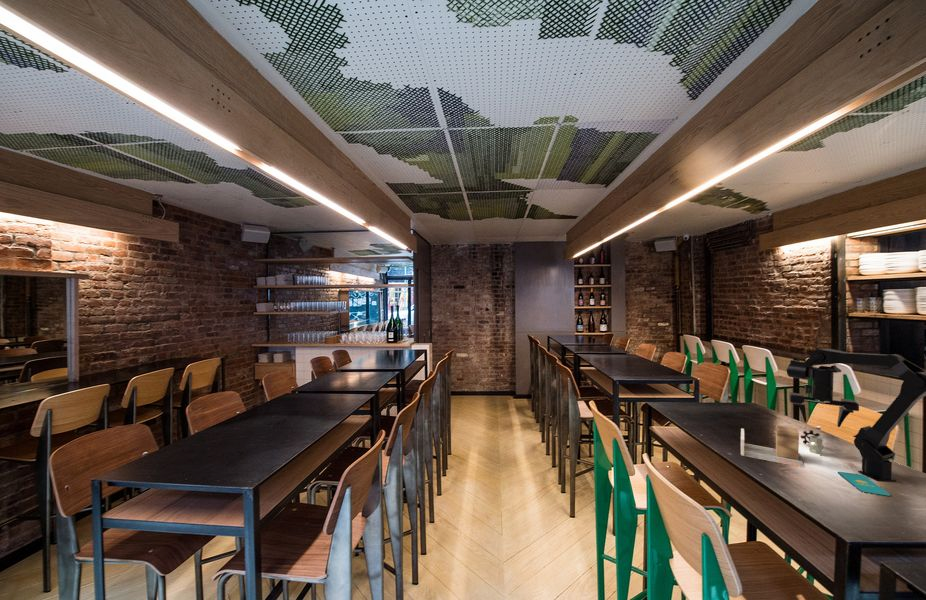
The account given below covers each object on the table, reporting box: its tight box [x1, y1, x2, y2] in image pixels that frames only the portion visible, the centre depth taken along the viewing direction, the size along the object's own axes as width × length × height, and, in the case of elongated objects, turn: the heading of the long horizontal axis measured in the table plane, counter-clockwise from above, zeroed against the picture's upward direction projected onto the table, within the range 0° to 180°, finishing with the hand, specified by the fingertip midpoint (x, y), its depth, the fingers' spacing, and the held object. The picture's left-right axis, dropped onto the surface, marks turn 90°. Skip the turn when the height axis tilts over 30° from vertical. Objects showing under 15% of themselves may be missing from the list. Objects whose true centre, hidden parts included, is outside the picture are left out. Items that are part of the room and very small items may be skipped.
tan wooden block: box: [775, 425, 800, 461], centre depth 146 cm, size 6×6×10 cm
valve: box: [799, 429, 824, 457], centre depth 154 cm, size 7×7×12 cm
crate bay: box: [740, 428, 806, 468], centre depth 149 cm, size 18×15×7 cm
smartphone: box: [837, 471, 892, 498], centre depth 127 cm, size 7×1×15 cm
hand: (821, 424), depth 146 cm, fingers open, 9 cm apart
